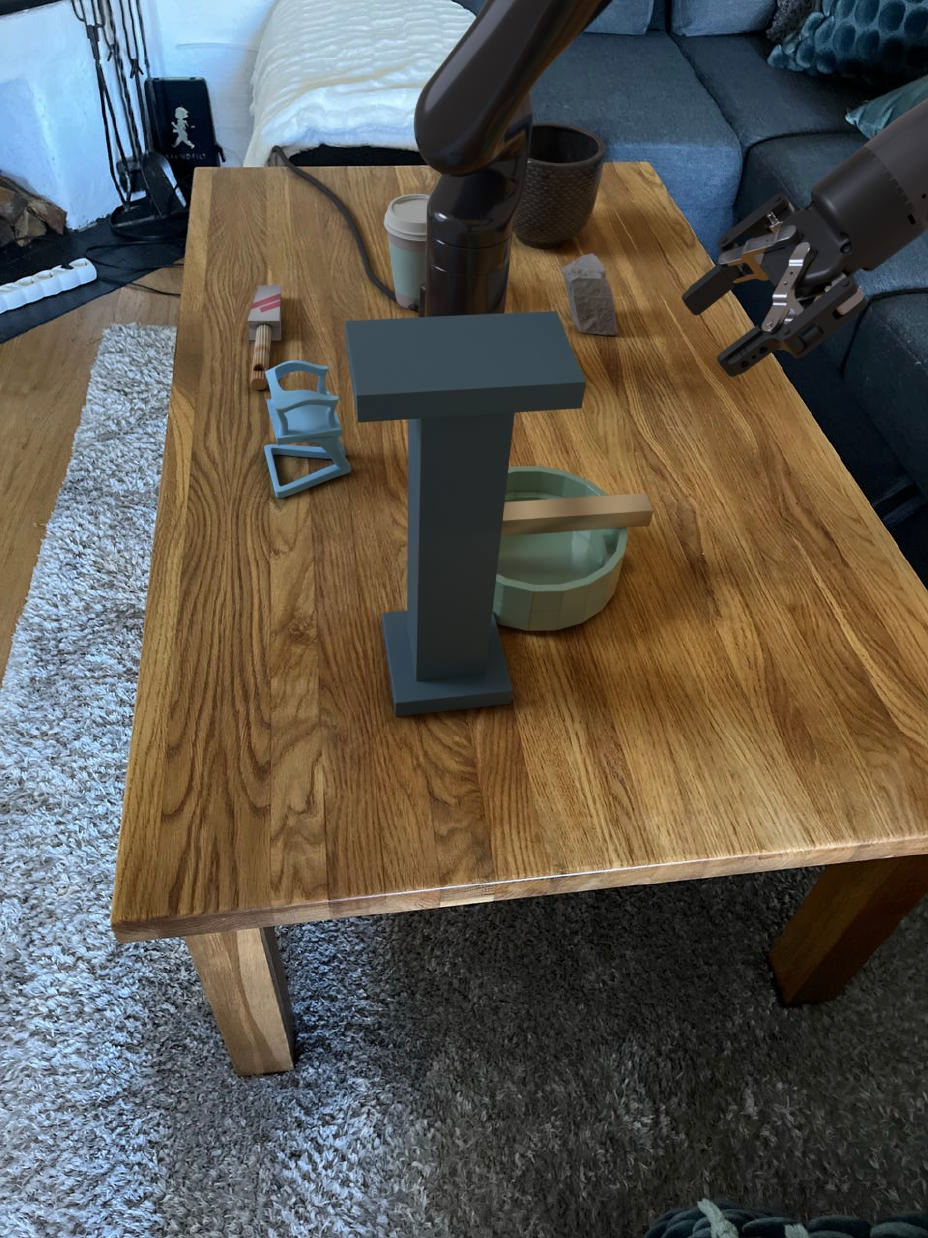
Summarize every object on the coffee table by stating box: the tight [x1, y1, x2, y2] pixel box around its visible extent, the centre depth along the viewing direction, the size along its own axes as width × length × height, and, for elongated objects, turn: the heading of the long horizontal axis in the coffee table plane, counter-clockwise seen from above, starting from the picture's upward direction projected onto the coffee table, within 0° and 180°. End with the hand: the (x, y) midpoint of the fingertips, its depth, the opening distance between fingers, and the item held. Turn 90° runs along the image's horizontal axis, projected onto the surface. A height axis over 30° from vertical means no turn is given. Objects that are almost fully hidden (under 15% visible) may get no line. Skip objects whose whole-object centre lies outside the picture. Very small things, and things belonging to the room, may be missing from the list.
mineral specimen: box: [560, 252, 618, 336], centre depth 117 cm, size 7×9×8 cm
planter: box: [512, 121, 606, 250], centre depth 129 cm, size 14×14×13 cm
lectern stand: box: [344, 310, 587, 717], centre depth 71 cm, size 14×10×32 cm
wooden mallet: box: [501, 492, 655, 536], centre depth 85 cm, size 22×5×2 cm, turn 98°
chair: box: [263, 359, 352, 499], centre depth 94 cm, size 8×8×12 cm
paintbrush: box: [246, 284, 282, 391], centre depth 113 cm, size 4×3×20 cm
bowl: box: [493, 465, 629, 632], centre depth 89 cm, size 17×17×6 cm
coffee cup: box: [383, 193, 430, 311], centre depth 117 cm, size 8×9×12 cm
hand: (704, 336), depth 73 cm, fingers open, 8 cm apart
